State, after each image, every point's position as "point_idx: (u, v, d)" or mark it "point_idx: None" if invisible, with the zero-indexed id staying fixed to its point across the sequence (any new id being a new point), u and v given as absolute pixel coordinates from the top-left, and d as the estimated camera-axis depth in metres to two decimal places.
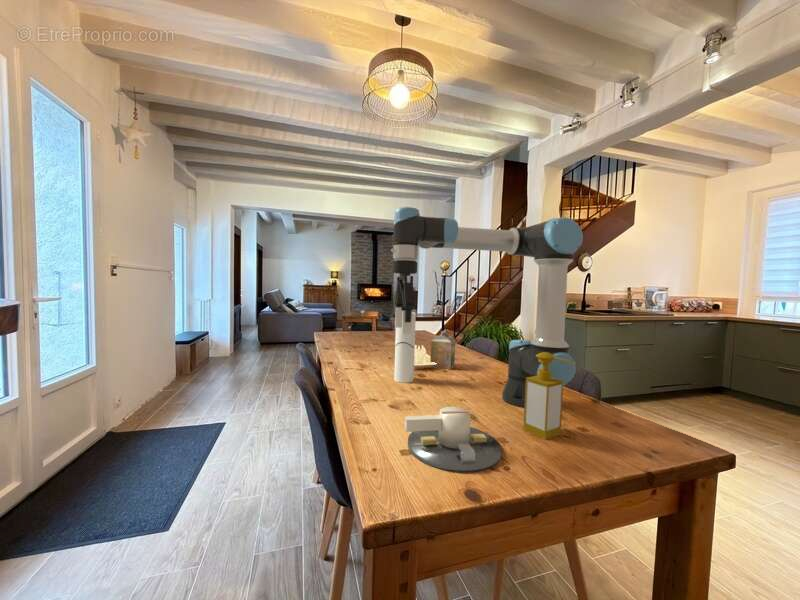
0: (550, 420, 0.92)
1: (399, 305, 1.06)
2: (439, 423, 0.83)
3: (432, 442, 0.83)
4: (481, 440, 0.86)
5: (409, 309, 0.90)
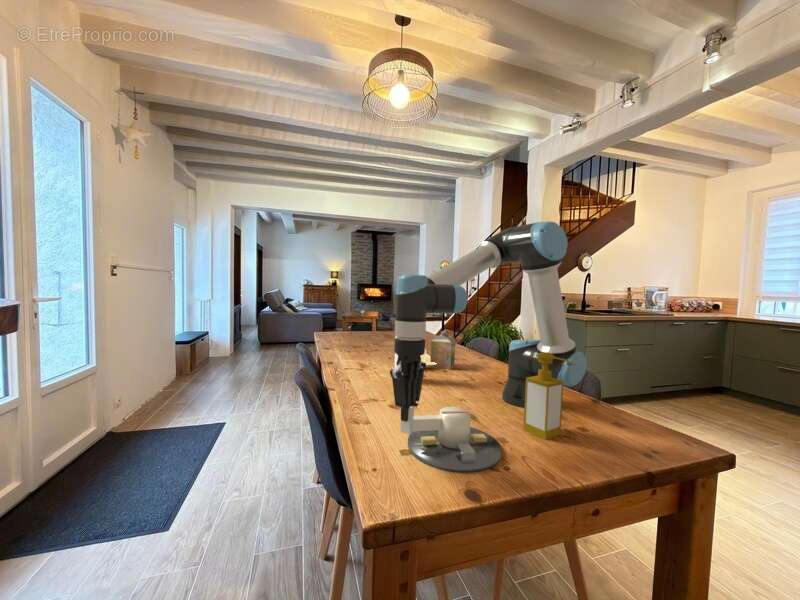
0: (550, 420, 0.92)
1: None
2: (439, 423, 0.83)
3: (432, 442, 0.83)
4: (481, 440, 0.85)
5: (401, 407, 0.79)
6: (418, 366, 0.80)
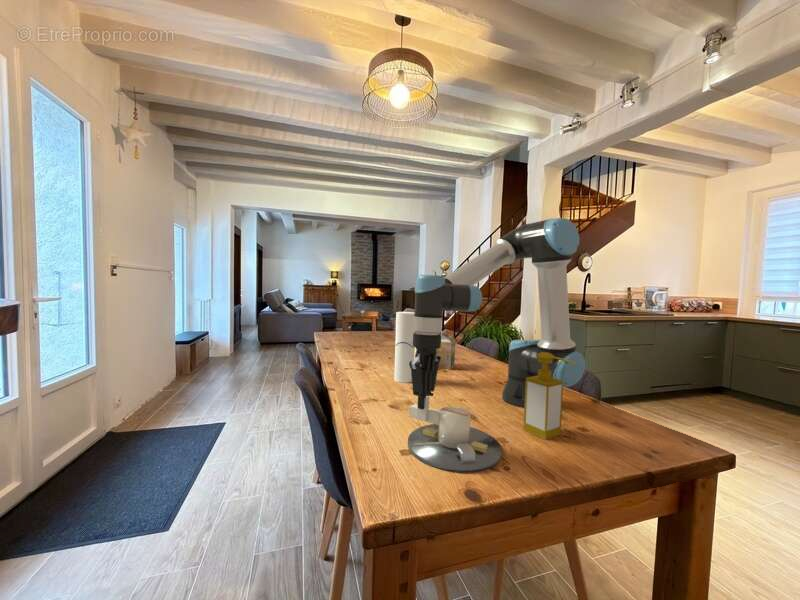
0: (550, 420, 0.92)
1: None
2: (437, 418, 0.87)
3: (430, 434, 0.88)
4: (478, 449, 0.81)
5: (418, 396, 0.86)
6: (434, 359, 0.88)
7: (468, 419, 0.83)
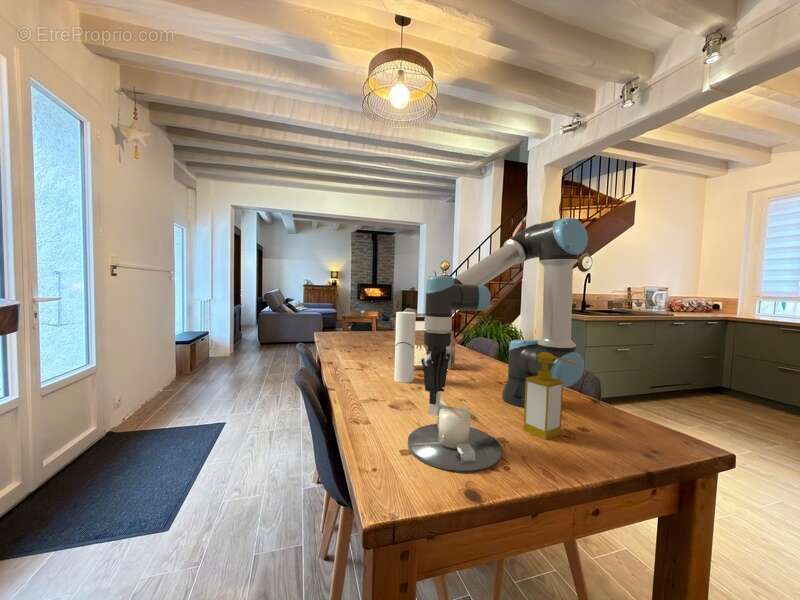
0: (550, 420, 0.92)
1: None
2: None
3: None
4: None
5: (430, 392, 0.90)
6: (444, 356, 0.92)
7: (459, 421, 0.81)
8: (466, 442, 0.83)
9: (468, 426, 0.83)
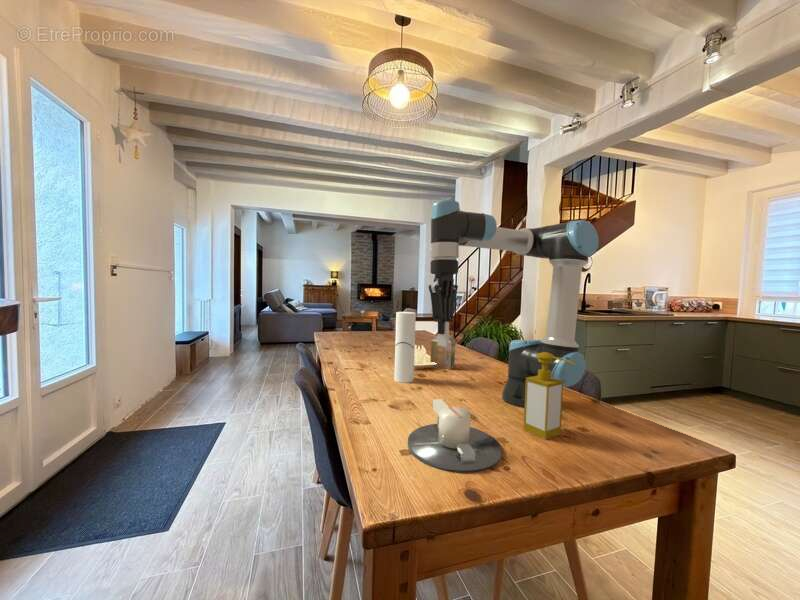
0: (550, 420, 0.92)
1: None
2: None
3: None
4: None
5: (438, 321, 0.88)
6: (452, 285, 0.89)
7: (459, 421, 0.81)
8: (466, 442, 0.83)
9: (468, 426, 0.83)
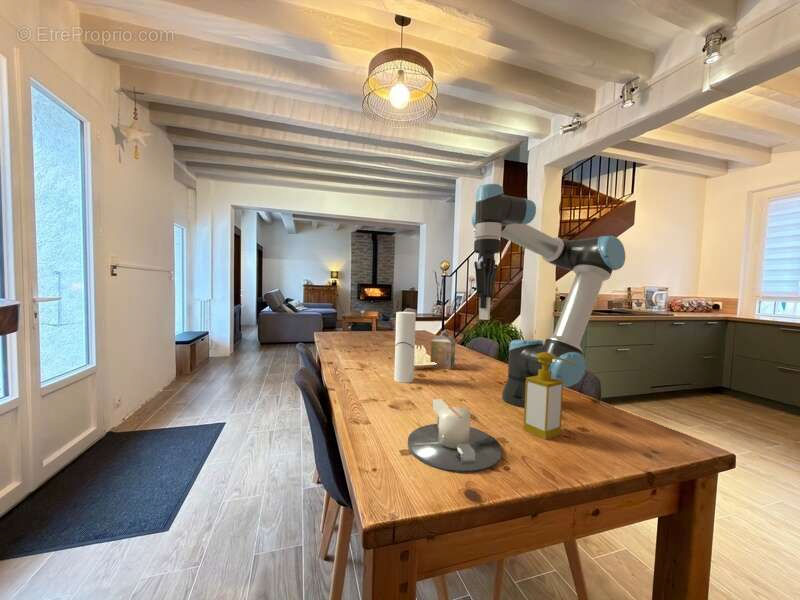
0: (550, 420, 0.92)
1: None
2: None
3: None
4: None
5: (481, 295, 0.95)
6: (494, 263, 0.96)
7: (459, 421, 0.81)
8: (466, 442, 0.83)
9: (468, 426, 0.83)
